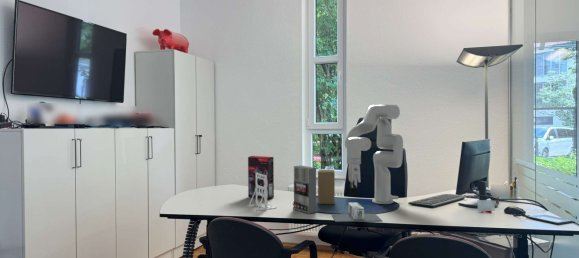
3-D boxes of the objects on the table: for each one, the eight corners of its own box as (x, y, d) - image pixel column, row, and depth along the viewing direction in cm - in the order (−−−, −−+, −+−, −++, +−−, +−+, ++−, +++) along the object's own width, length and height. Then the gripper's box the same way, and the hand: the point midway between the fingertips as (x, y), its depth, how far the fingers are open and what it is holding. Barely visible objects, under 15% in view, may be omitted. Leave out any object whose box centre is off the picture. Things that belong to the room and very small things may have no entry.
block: (334, 201, 250) (334, 169, 249) (334, 204, 240) (334, 171, 239) (318, 200, 251) (318, 169, 250) (318, 204, 241) (317, 171, 240)
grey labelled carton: (292, 209, 229) (292, 166, 228) (300, 207, 232) (300, 165, 232) (308, 214, 218) (307, 168, 217) (316, 212, 221) (316, 167, 221)
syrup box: (357, 212, 219) (364, 219, 205) (347, 212, 219) (353, 219, 204) (357, 202, 219) (364, 208, 205) (347, 202, 219) (353, 208, 204)
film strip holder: (278, 208, 232) (278, 174, 231) (257, 211, 224) (257, 176, 224) (267, 203, 244) (267, 171, 243) (246, 206, 237) (246, 173, 236)
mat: (375, 214, 216) (375, 213, 216) (382, 221, 202) (382, 220, 202) (331, 215, 215) (331, 214, 215) (335, 221, 202) (335, 221, 202)
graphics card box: (247, 197, 264) (247, 156, 263) (253, 195, 270) (253, 155, 269) (268, 200, 255) (268, 157, 254) (274, 198, 261) (274, 156, 260)
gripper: (363, 162, 207) (363, 197, 207) (357, 159, 222) (357, 192, 222) (349, 162, 206) (349, 197, 207) (344, 159, 221) (344, 192, 222)
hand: (353, 194), depth 215 cm, fingers closed
